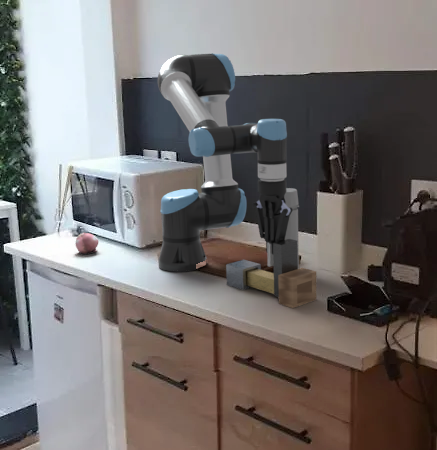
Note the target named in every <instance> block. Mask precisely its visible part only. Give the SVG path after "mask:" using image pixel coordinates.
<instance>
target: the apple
mask: <svg viewBox="0 0 437 450" xmlns="http://www.w3.org/2000/svg"><path fill="white" fill-rule="evenodd" d="M74 245H75V247H76V249H77V250H78V252H79V253H80V254H82V255H85V254H86V255H87V254H91V253H97V247H98V245H99V239H98V238H97V236H95V235H94V234H92V233H88V232H87V233H86V232H82V233H80V234H78V236H77V237H76V239H75V244H74Z"/></svg>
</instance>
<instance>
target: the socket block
mask: <svg viewBox="0 0 437 450" xmlns="http://www.w3.org/2000/svg"><path fill="white" fill-rule="evenodd" d="M278 282H279V297H278V304H279V305H282V306H284V307H288V308H290V309H294V308H297V307H299V306H303V305H306V304H308V303H311V302H314V301H317V300H318V299H317V271H316V270H312V269H309V268H305V267H300V268H299V269H296V270H293V271H290V272H287V273H283V274H280V275H278Z"/></svg>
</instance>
